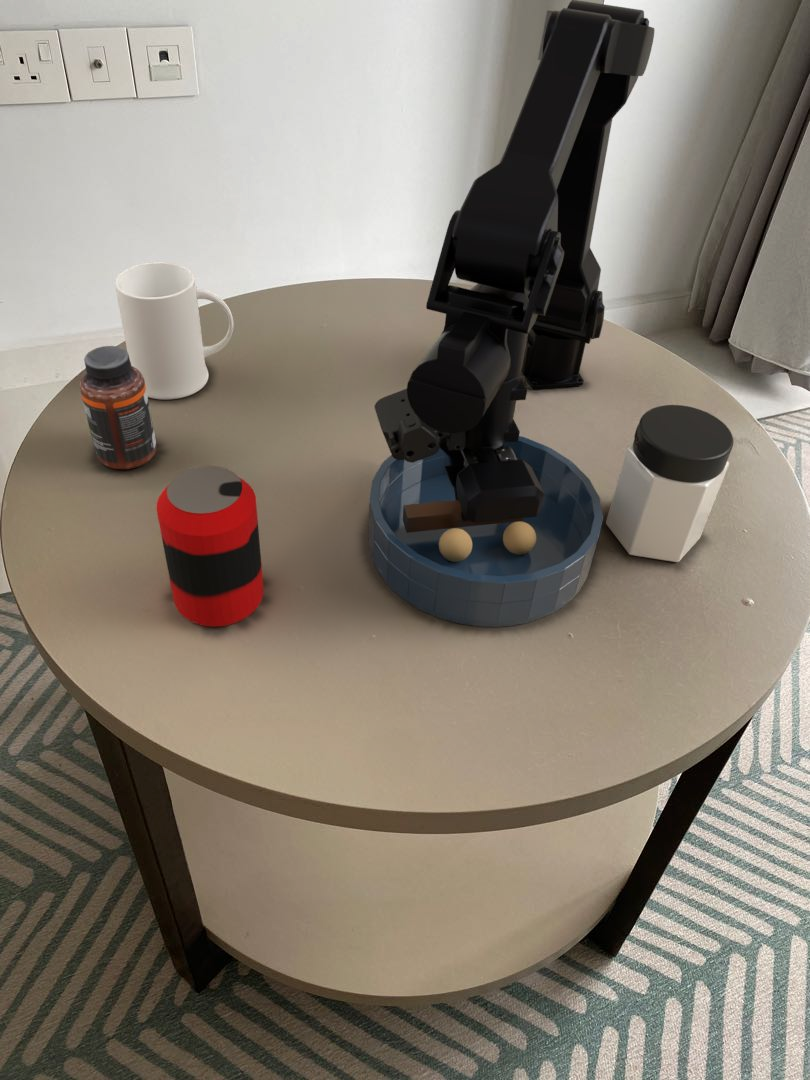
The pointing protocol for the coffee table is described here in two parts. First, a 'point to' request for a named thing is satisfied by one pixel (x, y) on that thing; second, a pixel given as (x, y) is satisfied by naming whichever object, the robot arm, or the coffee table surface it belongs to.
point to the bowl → (486, 543)
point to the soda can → (211, 545)
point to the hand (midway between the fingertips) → (465, 512)
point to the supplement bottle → (117, 409)
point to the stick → (439, 517)
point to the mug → (166, 327)
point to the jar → (669, 481)
